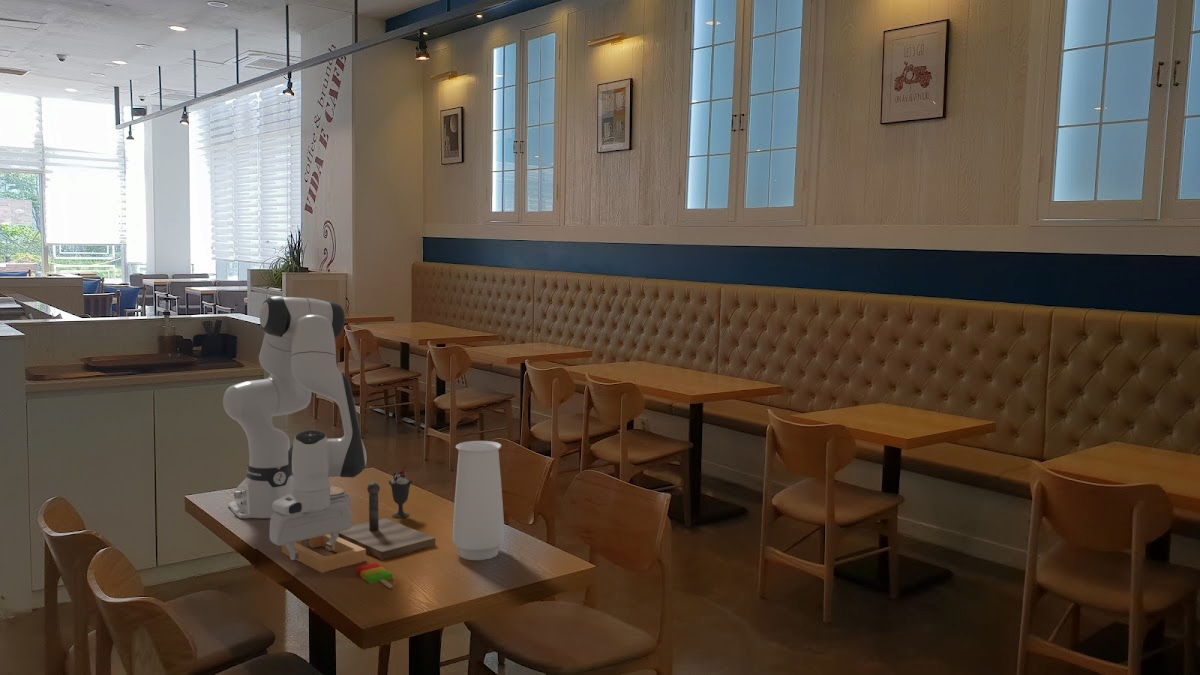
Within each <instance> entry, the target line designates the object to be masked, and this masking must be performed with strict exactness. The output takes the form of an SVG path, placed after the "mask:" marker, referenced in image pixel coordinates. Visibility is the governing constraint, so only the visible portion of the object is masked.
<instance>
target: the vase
mask: <svg viewBox="0 0 1200 675" xmlns="http://www.w3.org/2000/svg"><path fill="white" fill-rule="evenodd" d="M501 448H502V444H501V443H499V442H496V441H490V440H471V441H470V440H469V441H468V440H467V441H463V442H459V443H458V444H456V445H455V449H457V450H458V456H457V468H456V479H455V494H454V504H453V505H454V506H453V507H454V508H453V522H452V523H453V524H452V526H453V527H452V543H453V545H454V547H456V548H457V551H458V555H459V557H460V558H462V559H464V560H468V561H485V560H486V559H487V560H490V559H493V557H494V558H495V557H497V556H498V555H499V550H500V547H501V546H502V545H503V544H504V542H505V521H504V519H505V518H504V506H503V491H502V477H501V466H500V465H501V464H500V453H499V450H500V449H501Z"/></svg>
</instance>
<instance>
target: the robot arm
mask: <svg viewBox="0 0 1200 675" xmlns="http://www.w3.org/2000/svg"><path fill="white" fill-rule="evenodd" d="M345 314H346V313H345V311H344V309H343V307H342V306H341V304H339V303H338V302H335V301H331V300H328V301H326V300H322V299H316V298H313V297H295V296H294V297H293V296H289V297H287V296H285V297H284V296H282V295H277V296H276V295H275V296H269V297H267V298H266V299H265V300H264V301H263V303H262V305H261V308H260V311H259V323H260V327H261V329H262V330H263V331H264V333H265V334H264V337H263V341H262V344H261V348H260V351H259V355H258V361H259V364H260V367H261V369H263V370H264V371H265V372H267V373H268V374H269V376H268V377H267V378H264V379H263V378H262V379H253V380H247V381H246V380H245V381H242V382H239V383H235V384H233V385H230V386H229V387H228V388H227V389H226V390H225V391H224V394H223V398H222V406H223V409H224V411H225V413H226V414H227V415H228V417H230V418H231V419H232V420H234V421H236V422H237V423H238V424H239V425H240V426H241V428H242V429H243V431H244V432H245V435H246V438H247V444H248V445H247V446H248V456H249V457H248V458H249V460H248V461H249V464H247V465H246V466H247V467H246V478H245V479H244V480H242V482H240V484H239V485H238V486H237V487H236V490H235V491H234V493H233V496H234V497H233V498H234V499H235V500H232V501H230V502H228V503H227V507H228V506H229V507H230V508H231V509H230V508H229V507H228V508H229V509H230V511H231V512H233V513H234V515H236V516H237V518H239V519H270V520H269V521H270V522H269V541H270V542H271V543H272V544H274V545H276V546H277V547H280V546H281V547H282V545H285V546H286V548H287V549H288V551H289V552H290V556H289V559H290V560H291V561H294V560H295V561H297V560H296V559H299V556H298V555H299V552H298V551H296V550H295V551H294V549H293V548H292V547H294V542H297V541H302V542H303V541H305V540H309V539H310V538H314V537H319V536H323V535H327V534H329V535H331V537H330V539H329V542H327V543H326V547H325V550H326V551H328V552H331V551H333V550H334V543H335V542H336V540H337V538H338V536H339V532H340V531H344V530H348V529H350V527H351V526H352V525H353V518H352V517H353V516H352V512H351V496H350V495H348V494H347V493H346V492H345V493H339V494H334V495H330V486H331V482H330V480H329V479H330V478H334V477H338V478H339V477H340V478H352V479H353V478H355V477H357V476H358V475H360V474H361V473H362V472H363V471H364V470H365V469H366V466H367V455H368V454H367V451H366V447H365V444H364V441H363V439H362V435H361V432H360V431H361V430H360V425H359V424H360V423H359V418H358V414H357V413H358V412H357V409H356V407H357V406H356V402H355V399H354V394H353V391H352V386H351V383H350V380H349V378H348V377H347V376H346V375H344V374H342V372H341V371H340V368H339V367H338V364H337V353H336V351H337V349H336V348H337V347H336V339H337V338H338V337H339V336H340V335H341V334H342V333H343V330H344V329H345V324H346V323H345V321H346V315H345ZM312 393H314V394H316V395H319V396H323V397H326V398H328V399H330V400H332V401H333V402H335V404H337V406H338V407H339V409H338V410H339V413H340V418H341V424H342V428H343V434H344V435H343V436H342V437H338V438H337V437H335V438H328V437H327V435H326V434H325V433H324V432H322V431H319V430H305V431H302V432H299V433H297V434H296V435H295V436H294V437H293V444H292V446H290V444H291V442H290V437H289V436H288V434H287V433H286V432H285V431H284V430H282V429H280V428H277V427H275V426H274V424H273V417H277V416H284V415H292V414H294V413H297V412H299V411H302V410H304V409H306V408H307V407H308V406H309V405H310V403H311V399H312Z"/></svg>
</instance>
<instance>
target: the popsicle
mask: <svg viewBox="0 0 1200 675" xmlns="http://www.w3.org/2000/svg"><path fill="white" fill-rule="evenodd" d="M356 575H358V576H359V577H361V578H362V579H363V580H364V579H365V580H364V581H365V582H367V583H368V584H369V583H370V585H372V583H373V584H377V583H382V584H383V585H384V586H386V587H387V588H388V589H393V588H394V585H392V584H391V583H389V581H390V579H391V580H393V574H392V573H391V572H390V571H388V569H385V568H384V567H383V566H382V565H380V564H378V563H369V564H364V565H360V566H358V567H357V568H356ZM385 580H386V581H385ZM376 582H377V583H376Z"/></svg>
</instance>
